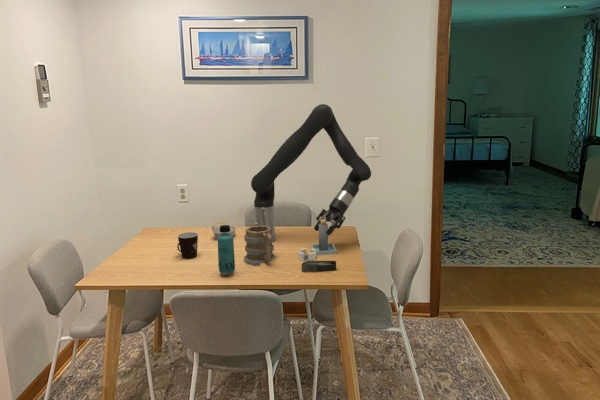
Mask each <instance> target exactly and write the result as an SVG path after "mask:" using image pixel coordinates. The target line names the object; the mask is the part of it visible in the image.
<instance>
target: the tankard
mask: <svg viewBox="0 0 600 400" xmlns="http://www.w3.org/2000/svg"><path fill="white" fill-rule="evenodd" d="M243 236H244V241H245V242H246V243H245V244H246V245H245V246H244V250H245V253H246V255H244V256H243V260H244V261H245V263H246V264H247V265H251V266H261V264H265V263H270V262H272V261H273V260H275V259H276V258H277V256H276V255H275V254H274V253H273V251H274V250H275V248H274V247H275V246H274V244H273V242H272V240H273V234H272V230H271V228H270V227H269V226H262V225H260V226H259V225H258V226H255V225H252V226H249V227H246V229H245V234H244V235H243Z"/></svg>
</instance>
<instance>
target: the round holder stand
mask: <svg viewBox="0 0 600 400" xmlns="http://www.w3.org/2000/svg"><path fill="white" fill-rule="evenodd" d="M309 251H310V252H309V253H307V248H305V247H304V248H301V249H299V251H298V252H297V254H298V255H297V259H298V260H300V261H302V262H306V261H317V256H318V255H317V250H315V249H311V248H310V250H309Z"/></svg>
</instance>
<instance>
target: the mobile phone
mask: <svg viewBox="0 0 600 400" xmlns="http://www.w3.org/2000/svg"><path fill="white" fill-rule="evenodd" d="M333 271H337V261H336V260H313V261H302V263H301V273H322V272H333Z"/></svg>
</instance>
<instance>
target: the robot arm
mask: <svg viewBox="0 0 600 400" xmlns="http://www.w3.org/2000/svg"><path fill="white" fill-rule="evenodd" d="M322 130H324V131H325V132H326V134H327V135H328V137H329V138H330V140H331V143H332V144H333V146H334V148H335V151H336V152H337V154H338V155H339V157H340V158H341V160H342V161H343V163H344V164H345V165H346V166H349V167H350V168H351V171H350V172H349V173H348V175H347V178H346V180H345V183H344V184H343V186H342V187H341V189H340V190H339V191H338V192H337V193H336V195H335V196H334V198H333V199H332V200H331V202H330V203H329V206H328V208H329V209H327V210H326V209H324V208H323V209H321V211H320V213H319V214H318V215H317V217H316V218H315V220H316V221H317V222H316V224H315V225H314V227H313V229H314V231H316V232H319V224H320V223H321V220H322V219H325V220H326V223H328V222H329V223H331V224H330V226H328V230H327V232H326V234H327V235H328V237H329V236H331V235H332V234H333V233H334V230H336V229H340V228H341V227H342V225H343V223H344V221H345V220H346V217H345V216H344V215H345V213H346V212H347V211H348V209H349V207H350V205H351V204H352V203H353V200H354V199H355V198H356V196H357V195H358V193H359V190H360V188H359V187H360V185H361V183H362V182H365V181H368V180H369V179H370V178H371V176H372V170H371V168H370V166H369V165H368V164H367V163H366V161H365V160H364V159H363V158H362V157H360V156H359V154H358V153H357V151H356V150H355V148H354V147H353V145H352V143H351V142H350V141H349V140H348V139H349V138H348V137H347V136H346V134H345V133H344V132H343V130H342V129H341V126H340V125H339V123H338V121H337V119H336V116H335V115H334V112H333V109H332V108H331V106H330V105H327V104H326V103H325V104H323V103H321V104H318V105H317V106H315V107H314V108H313V109H312V111H311V112H310V114H309V115H308V116H307V117H306V119H305V120H304V122H303V123H302V125H300V126H299V128H298V129H297V130H295V131H294V132H293V133H292V134H291V135H289V137H288V138H287V139H286V140H285V141H284V142H283V143H282V145H280V147H279V148H278V149H277V150H276V151H275V154H274V155H273V156H272V157H271V159H270V160H269V161H268V162H267V164H266V165H265V166H264V167H263V168H262V169H261V170H259V171H258V172H257V173H256V174H254V175H253V176H252V178H251V182H250V186H251V189H252V190H253V192H255V198H254V201H253V206H254V207H253V208H254V226H258V225H259V226H260V225H262V226H269V227H270V228H271V230H272V234H273V240H272V243H273V242H274V241H275V240H276V232H275V230H276V229H275V209H274V207H275V206H274V205H275V204H274V203H275V180H276V179H277V177H278V176H280V175H281V173H283V172H284V171H285V170H286V169H288V168H289V167H291V165H292V164H293V163H294V162H295V161H297V159H298V158H299V157H300V156H301V155H302V154H303V153H304V151H305V150H306V148H308V146H309V145H310V142H311V141H312V140H313V138H315V136H316V135H317V134H319V132H320V131H322Z"/></svg>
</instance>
